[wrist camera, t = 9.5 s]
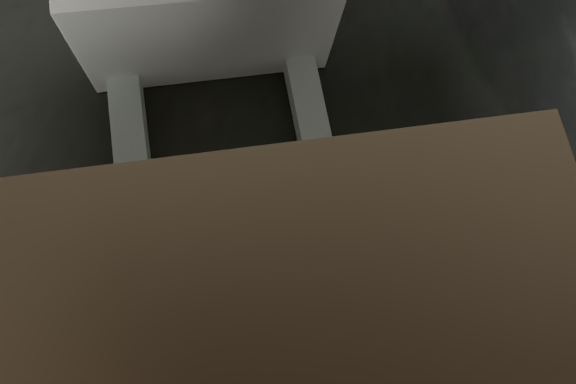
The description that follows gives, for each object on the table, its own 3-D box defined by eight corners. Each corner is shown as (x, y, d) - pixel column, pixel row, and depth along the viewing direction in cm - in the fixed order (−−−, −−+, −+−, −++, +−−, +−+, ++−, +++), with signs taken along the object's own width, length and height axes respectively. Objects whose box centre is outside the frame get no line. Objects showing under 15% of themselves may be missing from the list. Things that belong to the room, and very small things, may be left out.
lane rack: (361, 233, 19) (403, 199, 14) (112, 274, 17) (63, 252, 13) (319, 43, 21) (343, -43, 16) (95, 66, 20) (47, -20, 15)
